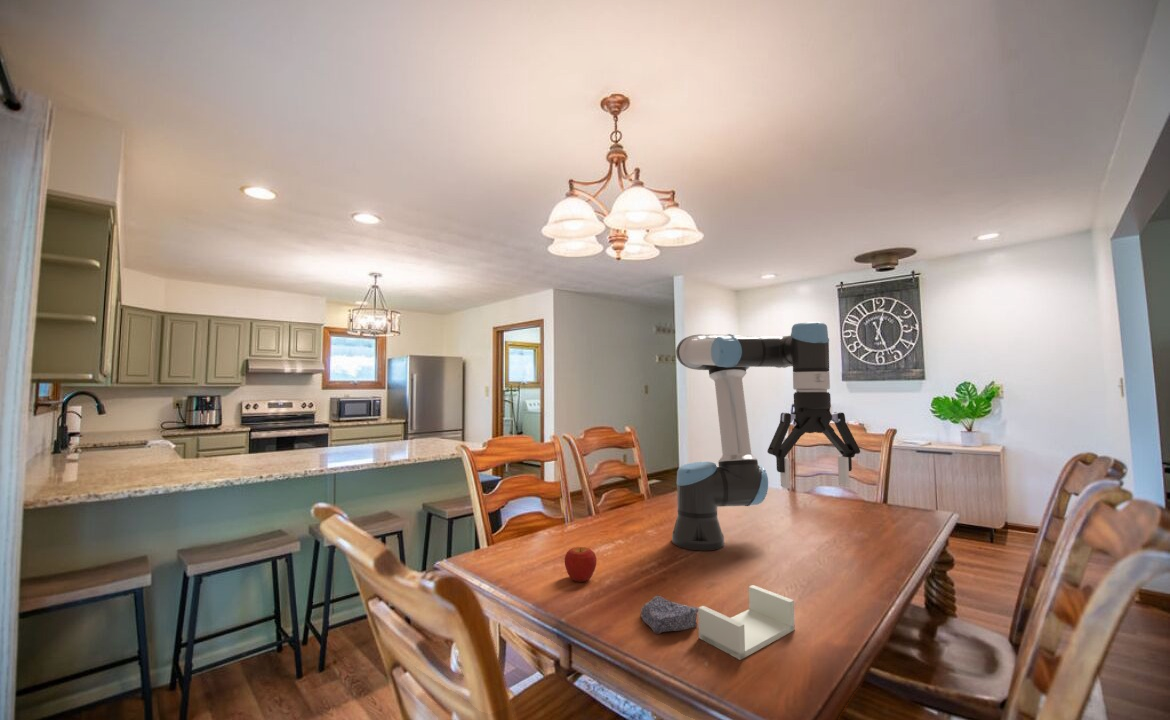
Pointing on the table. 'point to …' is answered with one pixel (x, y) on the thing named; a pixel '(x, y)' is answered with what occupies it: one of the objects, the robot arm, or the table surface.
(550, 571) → the table surface
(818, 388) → the robot arm
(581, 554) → the apple
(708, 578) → the table surface
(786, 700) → the table surface
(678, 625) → the rock
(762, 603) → the u rest
